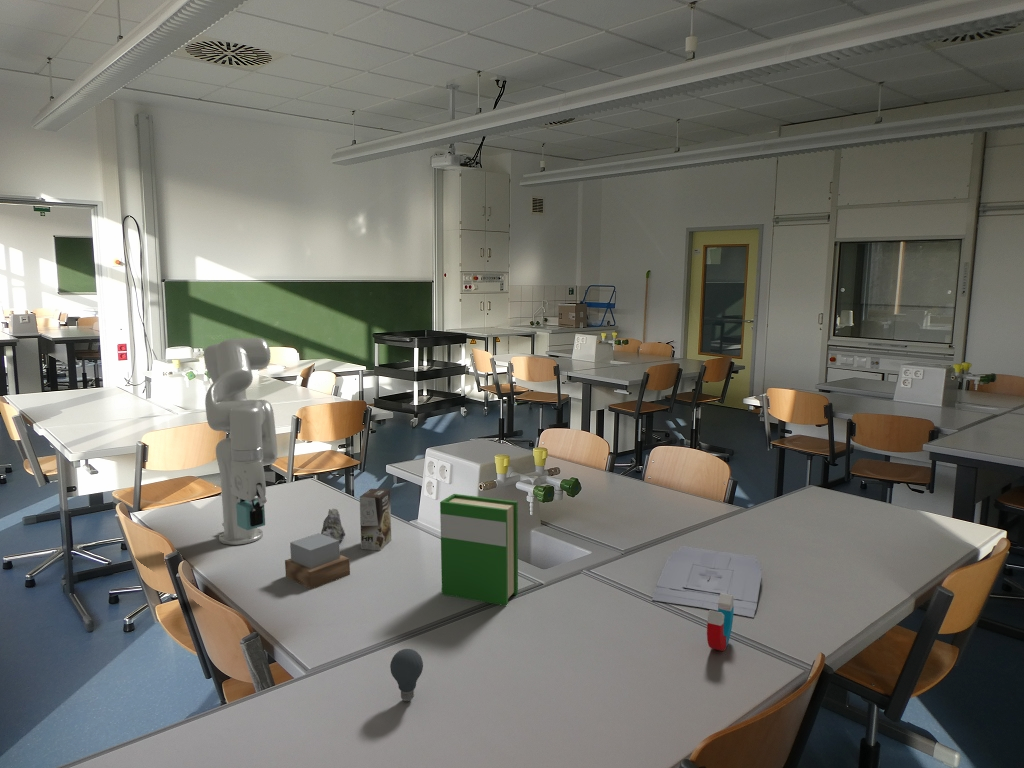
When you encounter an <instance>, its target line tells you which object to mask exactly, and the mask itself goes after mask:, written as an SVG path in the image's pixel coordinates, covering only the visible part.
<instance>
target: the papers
mask: <svg viewBox="0 0 1024 768" xmlns="http://www.w3.org/2000/svg"><path fill="white" fill-rule="evenodd" d="M757 561H758V556H757V555H750V554H741V553H734V552H727V551H720V550H714V549H713V550H712V549H705V548H699V547H692V546H687V545H686V546H683V545H680V546H679V548H678V550H676V549H675V550H673V552H672V554H671V555H669V556H668V558H667V560H666V562H665V563H664V567H663V568H662V571H661V573H660V576H659V578H658V581H657V584H656V586H655V588H654V592H653V595H652V599H651V601H656V602H662V603H668V604H669V603H670V604H677V605H682V606H690V607H696V608H697V607H698V608H703V609H709V610H712V611H718V600H719V597H720V594H721V593H723V594H728V595H732V596H733V601H734V611H733V615H739V616H744V617H750V618H755V613H756V611H757V607H758V606H757V605H758V601H759V600H758V599H759V594H760V588H761V587H760V586H761V580H762V574H763V573H762V572H763V568H761V567H762V566H761V565H762V562H759V561H758V562H757Z"/></svg>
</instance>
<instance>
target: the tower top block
mask: <svg viewBox="0 0 1024 768" xmlns="http://www.w3.org/2000/svg"><path fill="white" fill-rule="evenodd" d="M289 543H290V545H289V546H290V559H291V561H294V562H296V563H298V564H301V565H303V566H305V567H308V568H310V569H313V568H315V567H318V566H321V565H323V564H326V563H329V562H331V561H334V560H337V559H340V555H341V553H340V542H339V540H336V539H333V538H331V537H328V536H325V535H323V534H321V532H318V533H314V534H312V535H309V536H306V537H303V538H300V539H297V540H294V541H291V542H289Z"/></svg>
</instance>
